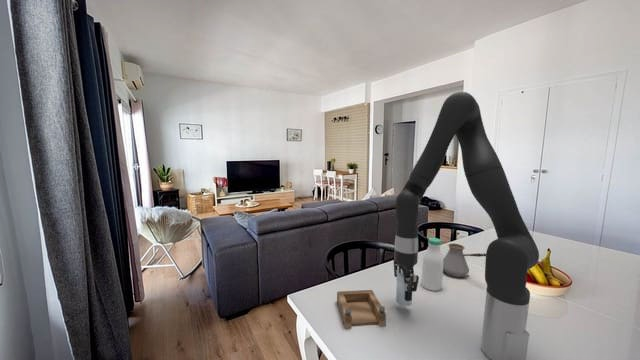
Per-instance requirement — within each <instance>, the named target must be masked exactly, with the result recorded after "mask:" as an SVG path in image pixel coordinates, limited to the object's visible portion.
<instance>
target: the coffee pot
mask: <svg viewBox="0 0 640 360" xmlns="http://www.w3.org/2000/svg"><path fill="white" fill-rule="evenodd" d="M447 245H448V247H449V250H448V252H447V253H446V254H445V256H444V257H443V272H444V273H445V274H446V275H448V276H450V277H455V278H462V277H464V276H466V275H467V274H469V271H470V268H469V265H468V263H467V260H466V257H479V258H480V257H485V258H486V252H484V253H464V252H463V251H464V250H465V246H464V245H461V244H459V243H449V244H447Z"/></svg>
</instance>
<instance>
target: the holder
mask: <svg viewBox="0 0 640 360" xmlns="http://www.w3.org/2000/svg"><path fill="white" fill-rule="evenodd" d="M336 295H337V296H336V304H337V307H338V309H339V313H340V317H341V319H342V323H343V326H344V329H352V328H353V327H356V326H358V327H359V326H371V325H374V326H375V325H378V326H379V327H386V325H387V322H386V321H387V313H386V311H385V310H386V308H385V306H383V305H382V304H381V303H380V301H379V299H378V298H377V296H376V294H375V293H374V291H373V289H364V290H362V289H361V290H345V291H344V290H343V291H337V292H336Z"/></svg>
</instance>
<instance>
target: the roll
mask: <svg viewBox="0 0 640 360" xmlns="http://www.w3.org/2000/svg"><path fill="white" fill-rule="evenodd" d="M396 278H397V280H396V294H395V296H396V297H395V302H396V304H398V305H399V306H402V307H410V306H412V305H413V299H412V300H411V301H406V300H405V284H404V283H403V277H402V274H401V273H398V272H397V277H396ZM405 279H406V281H409V278H405ZM408 284H409V283H408ZM408 284H407V285H408Z"/></svg>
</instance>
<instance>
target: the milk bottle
mask: <svg viewBox="0 0 640 360" xmlns="http://www.w3.org/2000/svg"><path fill="white" fill-rule="evenodd" d="M427 242H428V243H427V244H428V246H427V248H426V251H424V255H423V258H422V265H421V266H422V268H421V281H420V283H421V285H422V286H421V287H423V288H424V289H426V290H429V291H434V292H437V291H440V290H441V289H442V287H443V277H444V275H443V274H444V270H443V259H444V257H443V253H442V250H441V247H442V246H441V244H442V240H441V239H440V238H437V237H429V238H428V240H427Z"/></svg>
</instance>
